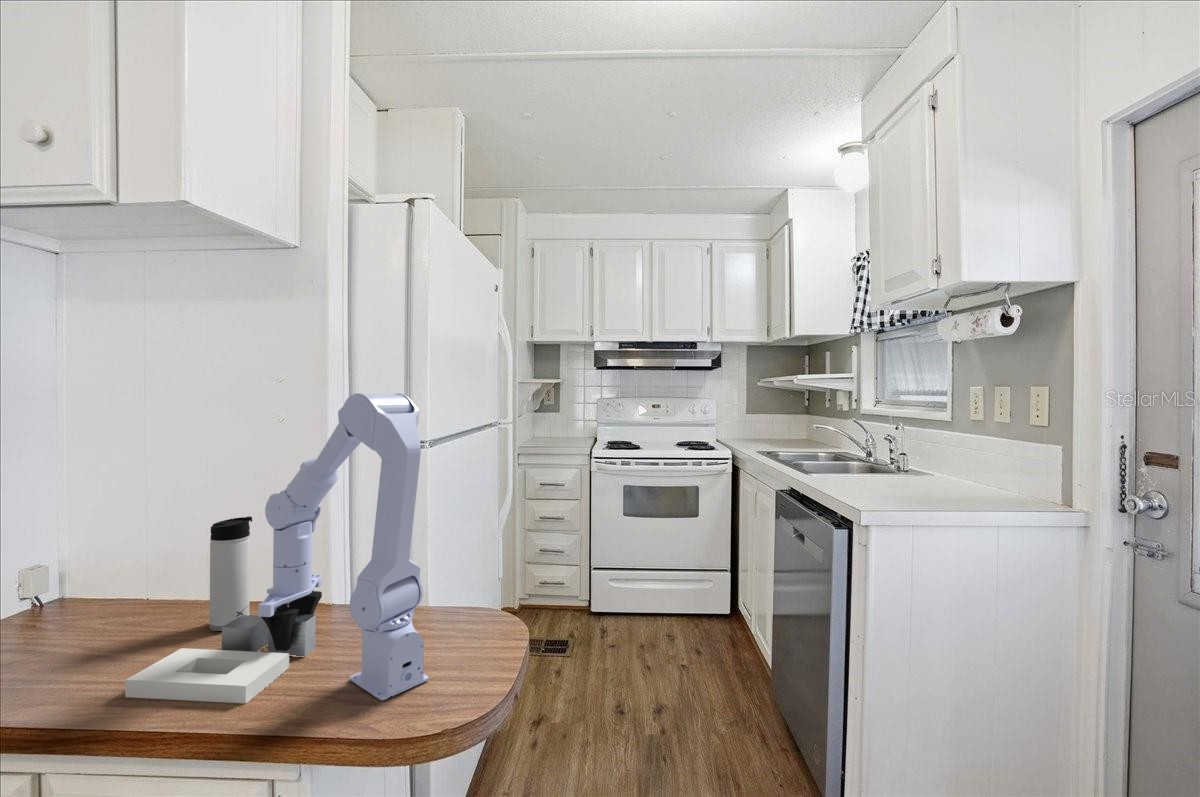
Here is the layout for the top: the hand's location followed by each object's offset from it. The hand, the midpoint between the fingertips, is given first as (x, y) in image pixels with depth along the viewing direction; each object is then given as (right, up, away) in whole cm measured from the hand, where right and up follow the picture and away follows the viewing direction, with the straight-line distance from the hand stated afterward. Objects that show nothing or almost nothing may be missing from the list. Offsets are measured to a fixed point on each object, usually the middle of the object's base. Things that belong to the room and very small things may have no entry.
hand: (291, 642), depth 96 cm
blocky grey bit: (0, -2, 0) cm, 2 cm away
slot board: (-7, -2, -10) cm, 12 cm away
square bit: (-8, -2, 0) cm, 8 cm away
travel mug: (-17, -1, +10) cm, 20 cm away
